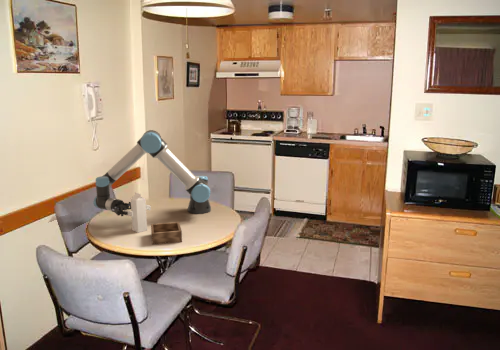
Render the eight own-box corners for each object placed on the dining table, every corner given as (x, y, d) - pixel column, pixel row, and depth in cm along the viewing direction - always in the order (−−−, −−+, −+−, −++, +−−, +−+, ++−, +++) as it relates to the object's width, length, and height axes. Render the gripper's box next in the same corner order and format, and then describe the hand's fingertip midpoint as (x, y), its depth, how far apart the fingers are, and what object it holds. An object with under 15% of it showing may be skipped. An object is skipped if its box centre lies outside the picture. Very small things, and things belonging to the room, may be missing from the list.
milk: (141, 227, 245) (139, 191, 240) (147, 230, 241) (145, 192, 236) (132, 230, 240) (130, 192, 236) (137, 233, 236) (135, 194, 232)
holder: (179, 232, 238) (179, 222, 237) (181, 242, 223) (181, 231, 222) (151, 234, 234) (150, 224, 233) (152, 244, 220) (151, 233, 218)
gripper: (131, 206, 259) (157, 211, 248) (98, 217, 238) (125, 223, 227) (130, 194, 257) (156, 199, 246) (97, 204, 236) (124, 210, 226)
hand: (141, 211), depth 237 cm, fingers open, 13 cm apart
